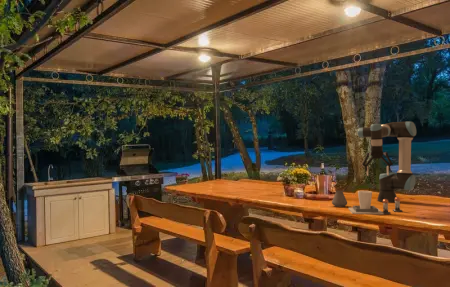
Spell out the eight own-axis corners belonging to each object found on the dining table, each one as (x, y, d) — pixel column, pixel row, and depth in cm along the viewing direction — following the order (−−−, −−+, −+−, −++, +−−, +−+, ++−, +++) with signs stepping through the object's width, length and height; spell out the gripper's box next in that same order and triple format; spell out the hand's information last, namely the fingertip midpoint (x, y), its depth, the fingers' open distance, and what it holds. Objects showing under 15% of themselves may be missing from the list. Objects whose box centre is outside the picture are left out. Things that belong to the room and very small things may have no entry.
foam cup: (356, 210, 262) (356, 192, 262) (359, 208, 269) (359, 190, 269) (370, 211, 256) (370, 192, 256) (373, 209, 264) (373, 191, 264)
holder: (348, 208, 275) (348, 204, 275) (377, 209, 271) (377, 205, 271) (352, 214, 255) (352, 209, 255) (383, 214, 251) (383, 210, 251)
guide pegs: (379, 213, 255) (378, 198, 255) (395, 210, 266) (395, 196, 266) (387, 214, 250) (386, 199, 250) (404, 211, 261) (403, 197, 261)
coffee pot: (342, 208, 279) (342, 187, 279) (328, 206, 287) (328, 186, 287) (356, 204, 294) (356, 185, 294) (342, 203, 302) (342, 184, 302)
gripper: (359, 146, 266) (360, 176, 266) (396, 145, 261) (397, 175, 261) (357, 146, 273) (358, 175, 274) (394, 144, 268) (395, 174, 269)
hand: (377, 175), depth 267 cm, fingers open, 13 cm apart
